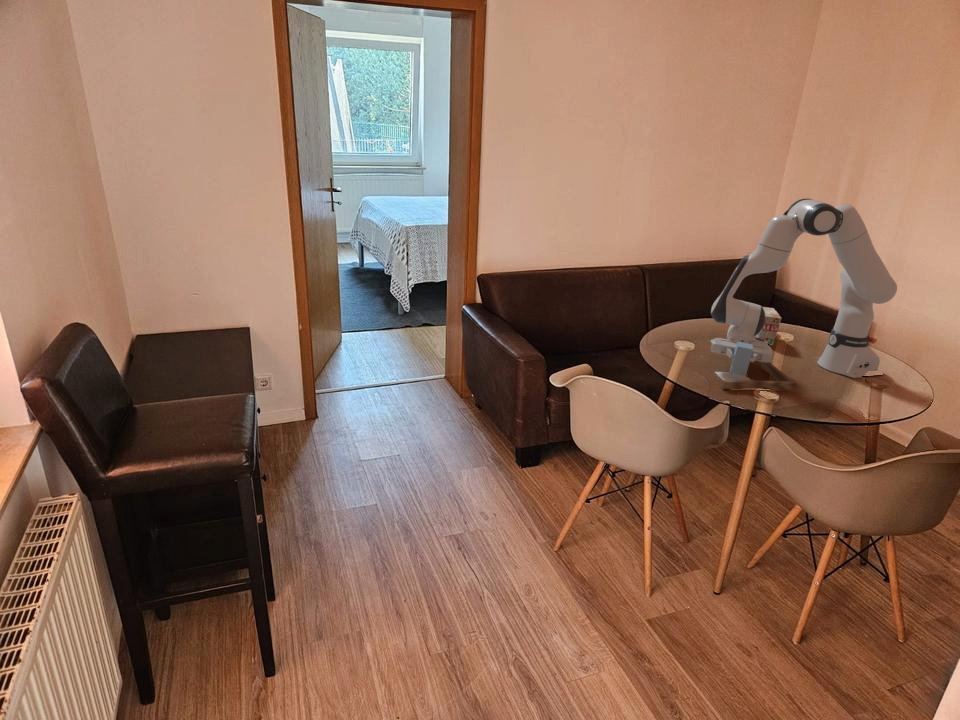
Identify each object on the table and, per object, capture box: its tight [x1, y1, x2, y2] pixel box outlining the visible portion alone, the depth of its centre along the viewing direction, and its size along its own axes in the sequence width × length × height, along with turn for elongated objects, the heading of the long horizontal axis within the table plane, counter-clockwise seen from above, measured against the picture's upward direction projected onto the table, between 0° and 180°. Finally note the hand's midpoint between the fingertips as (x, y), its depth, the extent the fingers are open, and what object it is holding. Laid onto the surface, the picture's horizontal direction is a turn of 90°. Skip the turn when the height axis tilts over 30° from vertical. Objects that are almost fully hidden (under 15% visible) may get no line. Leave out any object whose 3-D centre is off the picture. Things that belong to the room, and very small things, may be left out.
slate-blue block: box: [729, 342, 753, 376], centre depth 208 cm, size 5×5×10 cm
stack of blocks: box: [754, 306, 782, 345], centre depth 252 cm, size 21×6×12 cm, turn 169°
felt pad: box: [714, 371, 745, 381], centre depth 212 cm, size 11×11×1 cm
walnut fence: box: [720, 362, 797, 392], centre depth 212 cm, size 26×19×3 cm
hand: (741, 358), depth 207 cm, fingers closed on slate-blue block, 5 cm apart
